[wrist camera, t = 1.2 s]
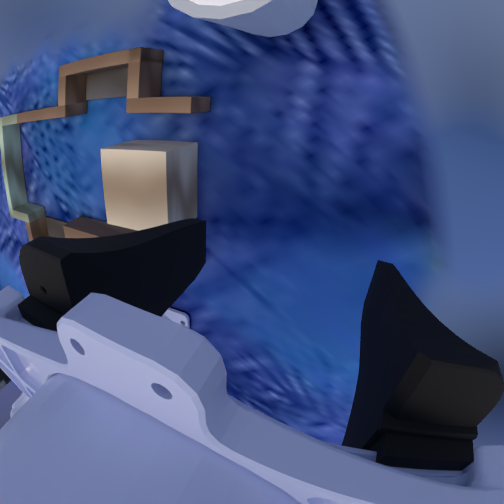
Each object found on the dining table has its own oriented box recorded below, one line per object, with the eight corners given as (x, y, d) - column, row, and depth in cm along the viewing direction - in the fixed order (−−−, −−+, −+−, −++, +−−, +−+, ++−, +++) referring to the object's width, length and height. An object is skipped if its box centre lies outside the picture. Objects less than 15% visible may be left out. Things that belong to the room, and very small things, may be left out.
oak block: (198, 216, 23) (169, 237, 19) (140, 205, 24) (107, 223, 21) (199, 142, 20) (165, 151, 17) (136, 139, 21) (100, 148, 18)
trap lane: (205, 294, 26) (190, 312, 23) (30, 234, 32) (16, 242, 30) (214, 46, 16) (195, 40, 14) (15, 85, 23) (-2, 88, 21)
